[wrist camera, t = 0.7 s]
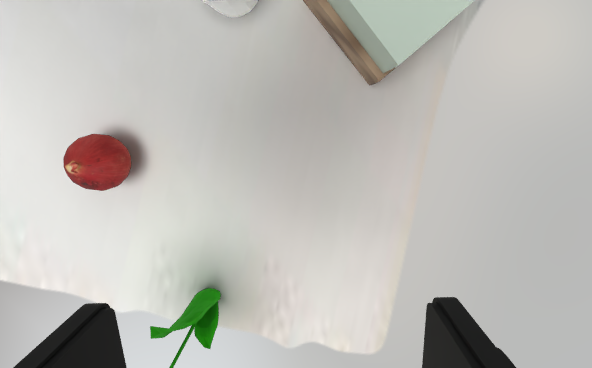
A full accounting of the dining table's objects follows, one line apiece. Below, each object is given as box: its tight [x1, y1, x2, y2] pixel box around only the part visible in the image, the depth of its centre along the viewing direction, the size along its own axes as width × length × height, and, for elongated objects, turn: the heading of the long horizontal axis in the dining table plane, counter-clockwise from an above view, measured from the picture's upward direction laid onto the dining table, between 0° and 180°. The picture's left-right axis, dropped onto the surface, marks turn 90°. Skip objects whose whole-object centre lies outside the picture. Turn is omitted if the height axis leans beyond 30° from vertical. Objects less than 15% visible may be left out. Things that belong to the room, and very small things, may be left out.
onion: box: [64, 134, 131, 191], centre depth 32 cm, size 6×6×8 cm
